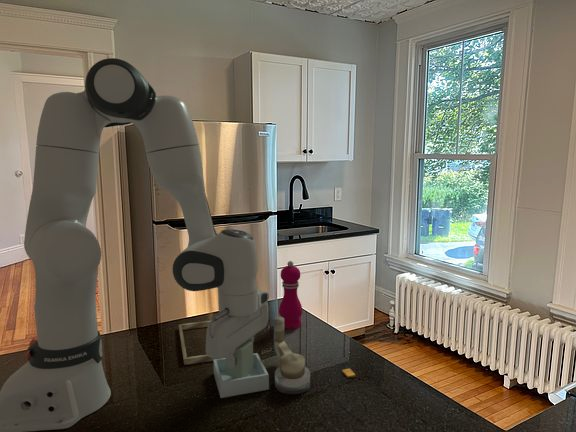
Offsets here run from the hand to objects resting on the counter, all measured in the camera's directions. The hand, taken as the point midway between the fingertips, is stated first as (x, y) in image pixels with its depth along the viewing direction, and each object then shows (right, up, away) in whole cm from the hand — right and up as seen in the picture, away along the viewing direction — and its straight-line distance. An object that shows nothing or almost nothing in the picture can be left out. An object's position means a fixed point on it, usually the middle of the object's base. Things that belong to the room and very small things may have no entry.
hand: (239, 360), depth 95 cm
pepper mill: (+12, -1, +32) cm, 35 cm away
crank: (+11, -2, +3) cm, 11 cm away
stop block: (0, -3, 0) cm, 3 cm away
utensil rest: (-13, -2, +21) cm, 24 cm away
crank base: (+17, -5, +1) cm, 18 cm away
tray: (0, -5, +1) cm, 5 cm away
